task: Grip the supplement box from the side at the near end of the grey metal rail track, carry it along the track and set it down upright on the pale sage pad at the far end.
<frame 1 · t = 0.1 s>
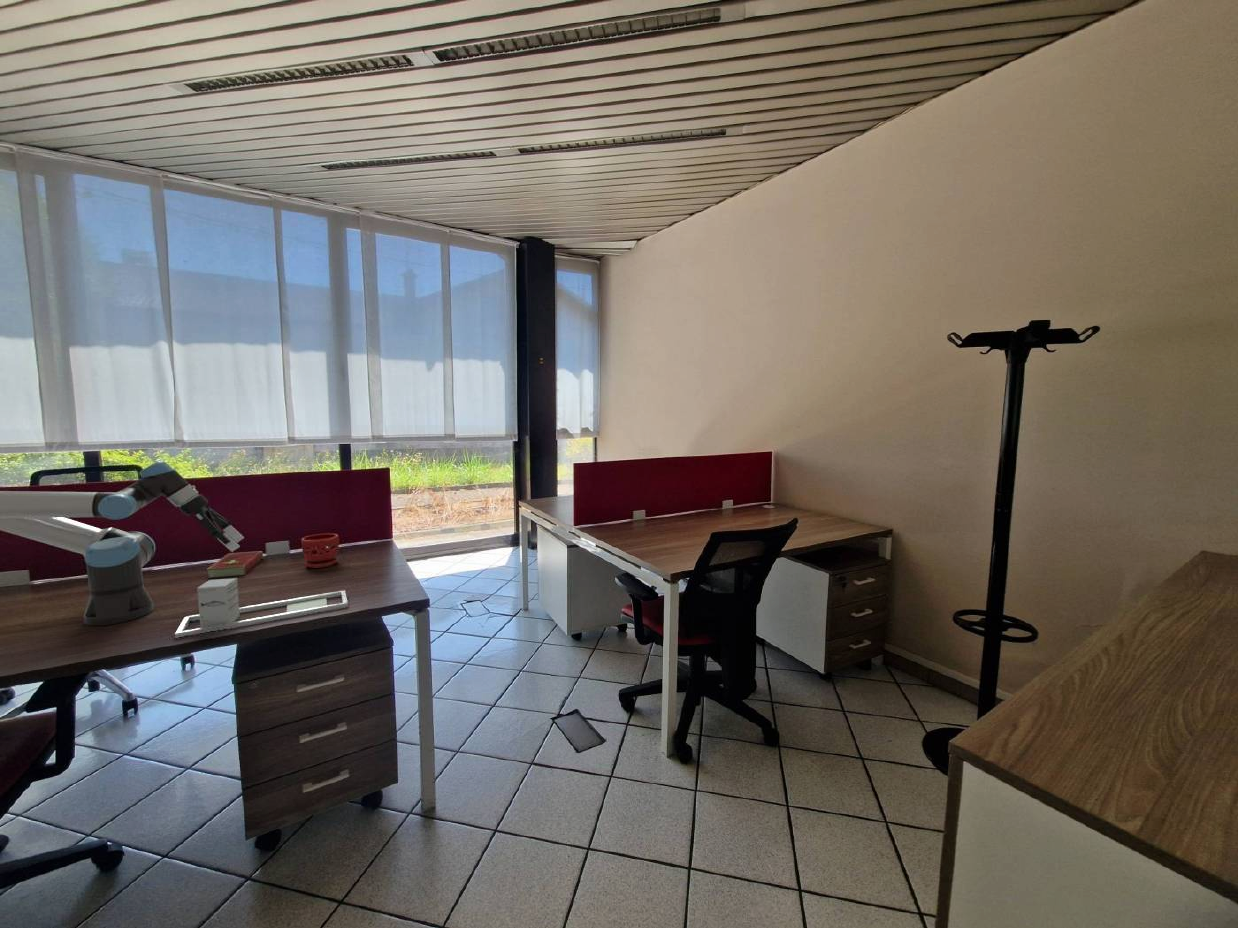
hand: (238, 544, 176), 15 cm above the table, tool tilted 35°, fingers open, 13 cm apart
hardcover book: (237, 569, 197), on the table
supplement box: (220, 623, 148), resting in rail track
plant pot: (321, 564, 202), on the table
rail track: (269, 614, 154), on the table
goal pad: (307, 607, 159), resting in rail track
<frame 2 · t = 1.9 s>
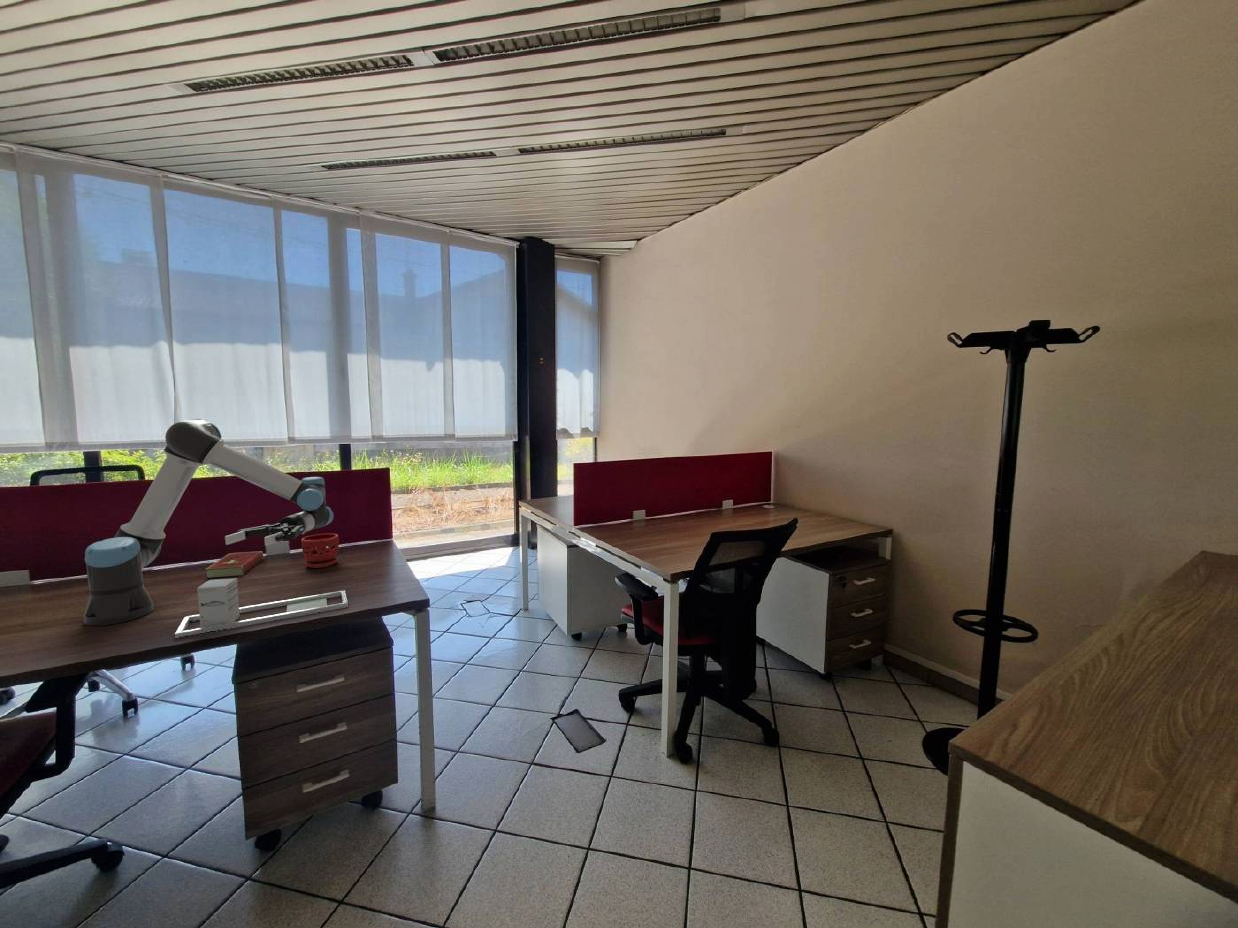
hand: (245, 541, 155), 22 cm above the table, tool horizontal, fingers open, 13 cm apart
nothing on the table moved.
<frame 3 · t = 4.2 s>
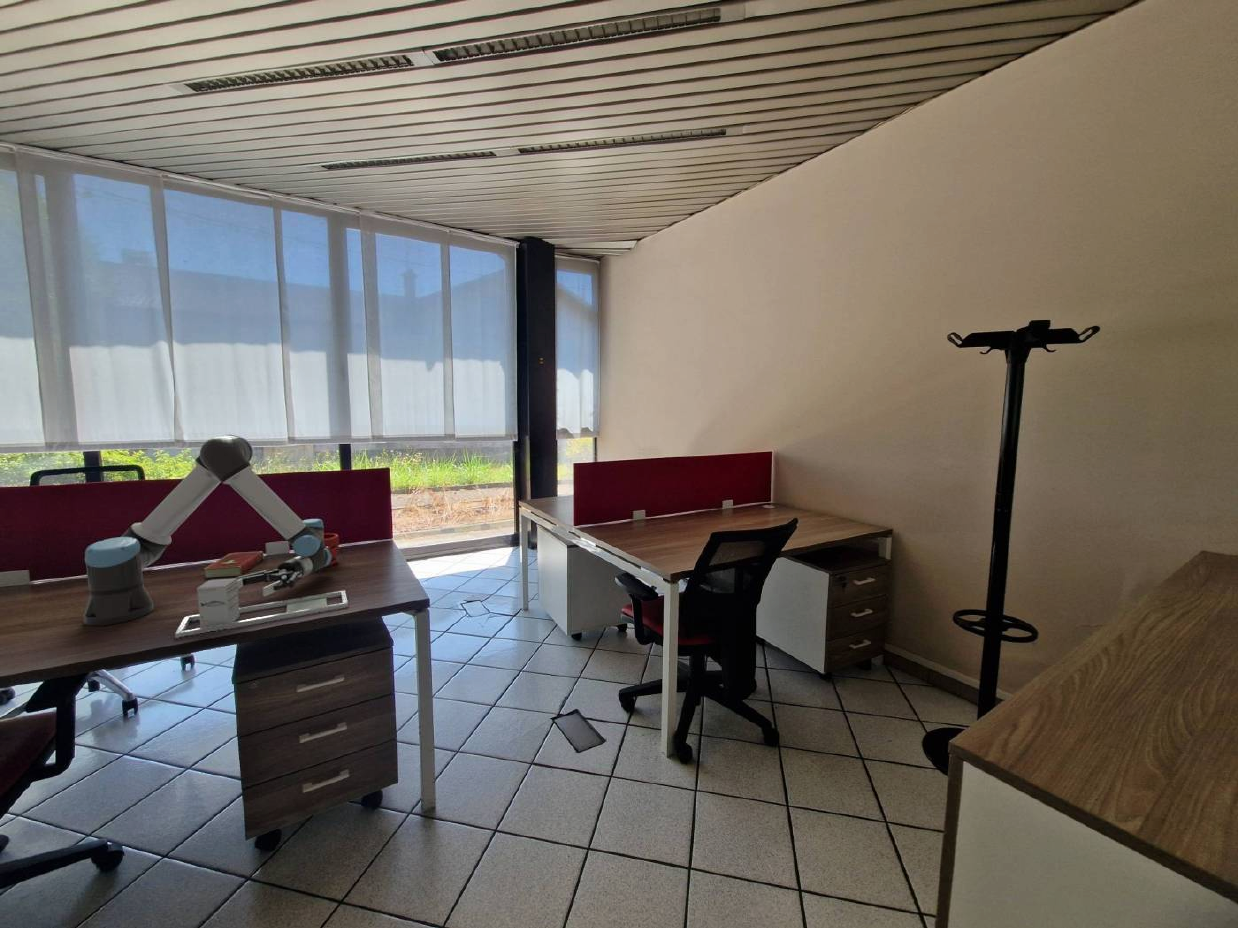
hand: (243, 591, 154), 7 cm above the table, tool horizontal, fingers open, 13 cm apart
nothing on the table moved.
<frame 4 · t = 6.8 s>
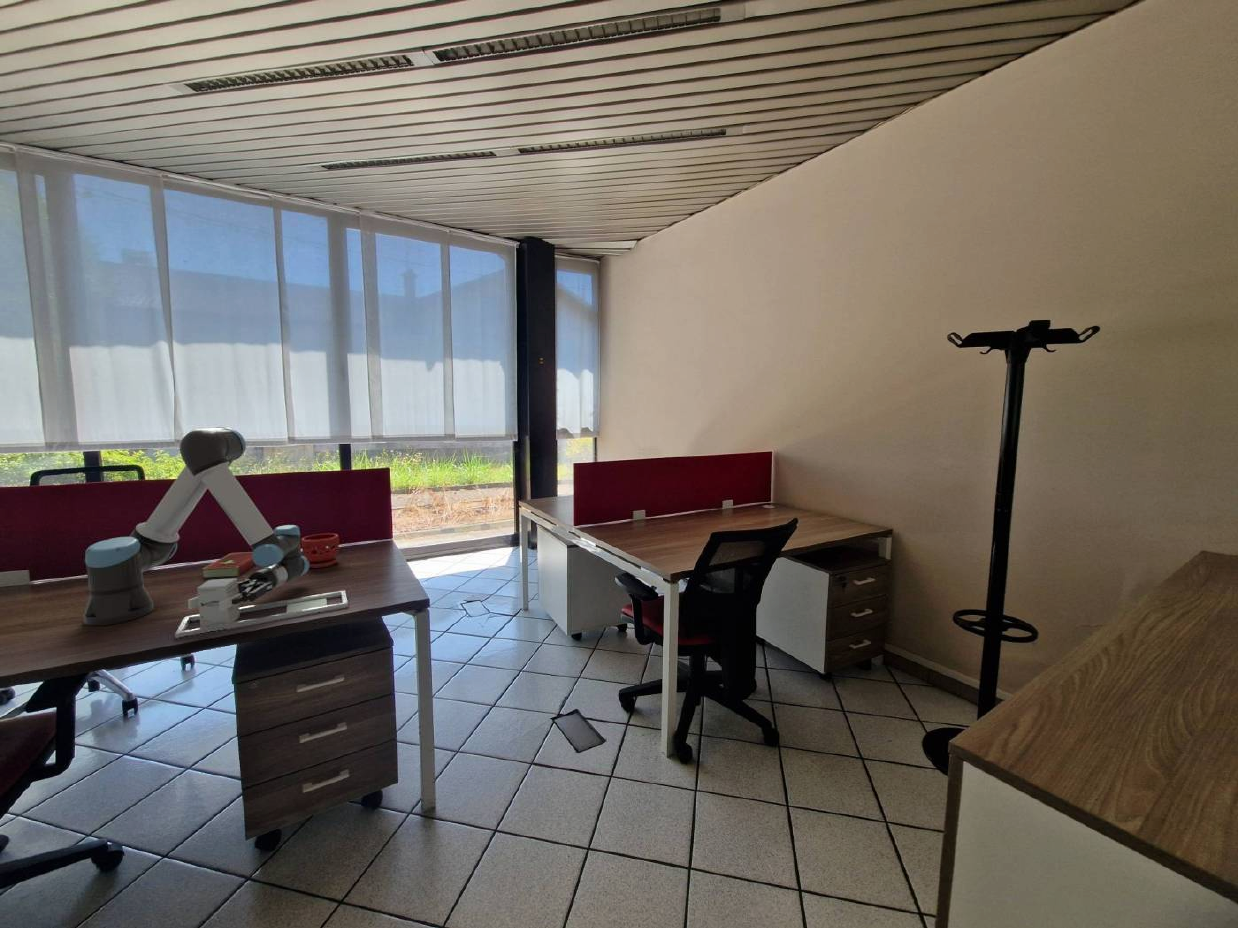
hand: (204, 605, 142), 7 cm above the table, tool horizontal, fingers closed on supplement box, 9 cm apart
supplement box: (221, 623, 148), resting in rail track, touching gripper
everything else where it was.
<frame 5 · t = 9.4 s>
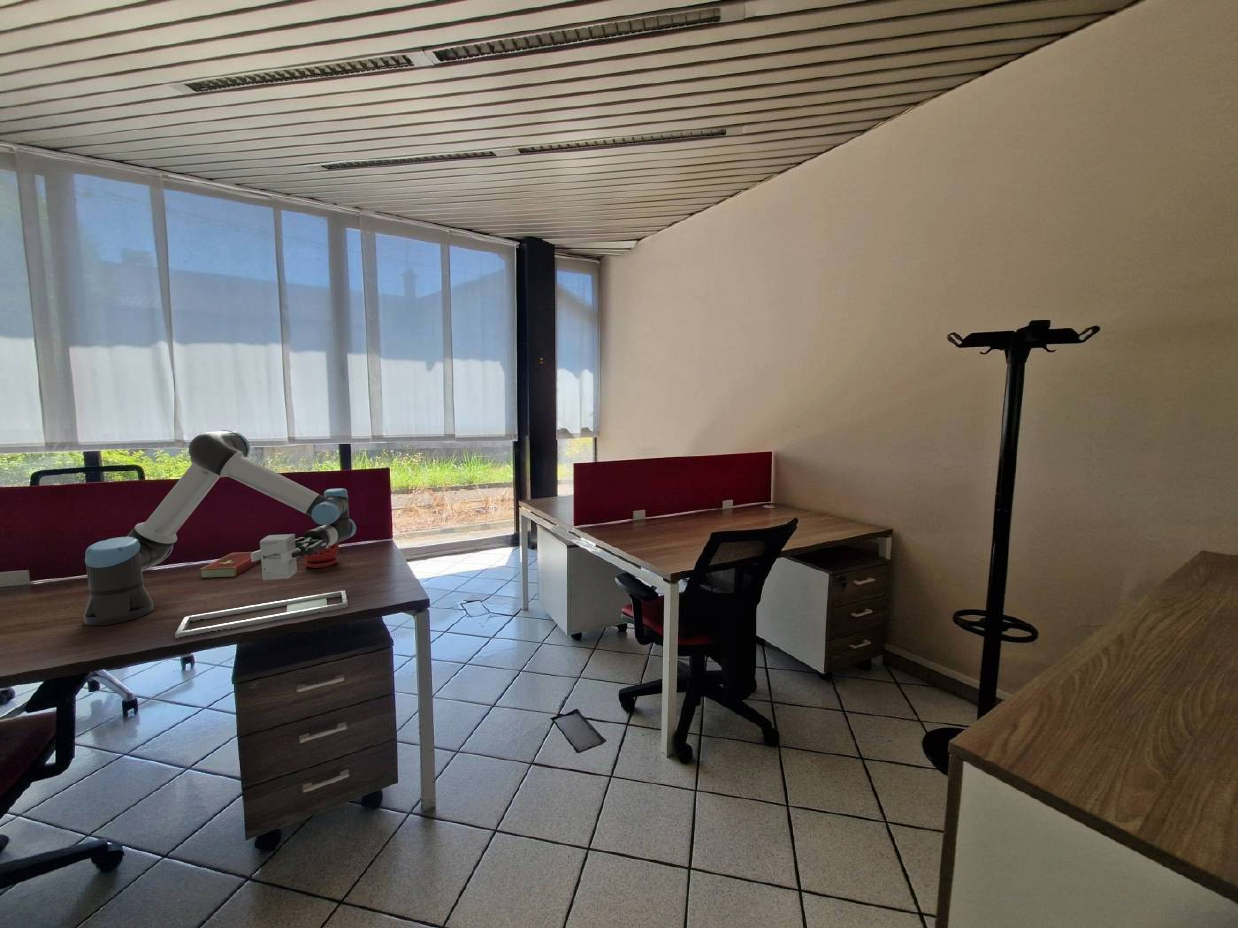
hand: (267, 557, 148), 19 cm above the table, tool horizontal, fingers closed on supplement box, 9 cm apart
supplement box: (280, 576, 154), point 12 cm above the table, touching gripper
when the fingers open (9 cm above the table, at t = 12.1 s): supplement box drops 1 cm, resting on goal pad.
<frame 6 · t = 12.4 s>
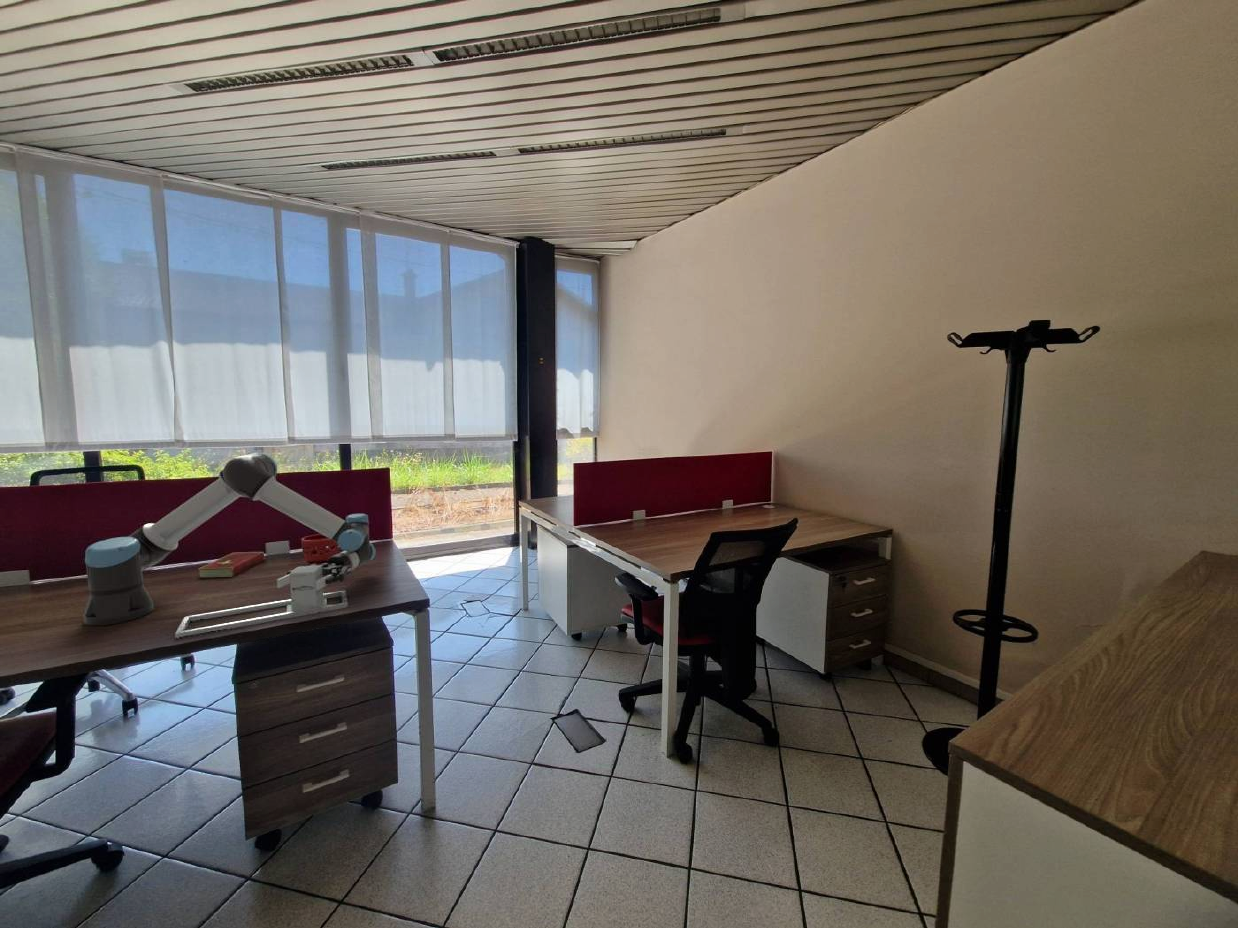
hand: (297, 584, 155), 9 cm above the table, tool horizontal, fingers open, 12 cm apart
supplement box: (308, 606, 159), resting on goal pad
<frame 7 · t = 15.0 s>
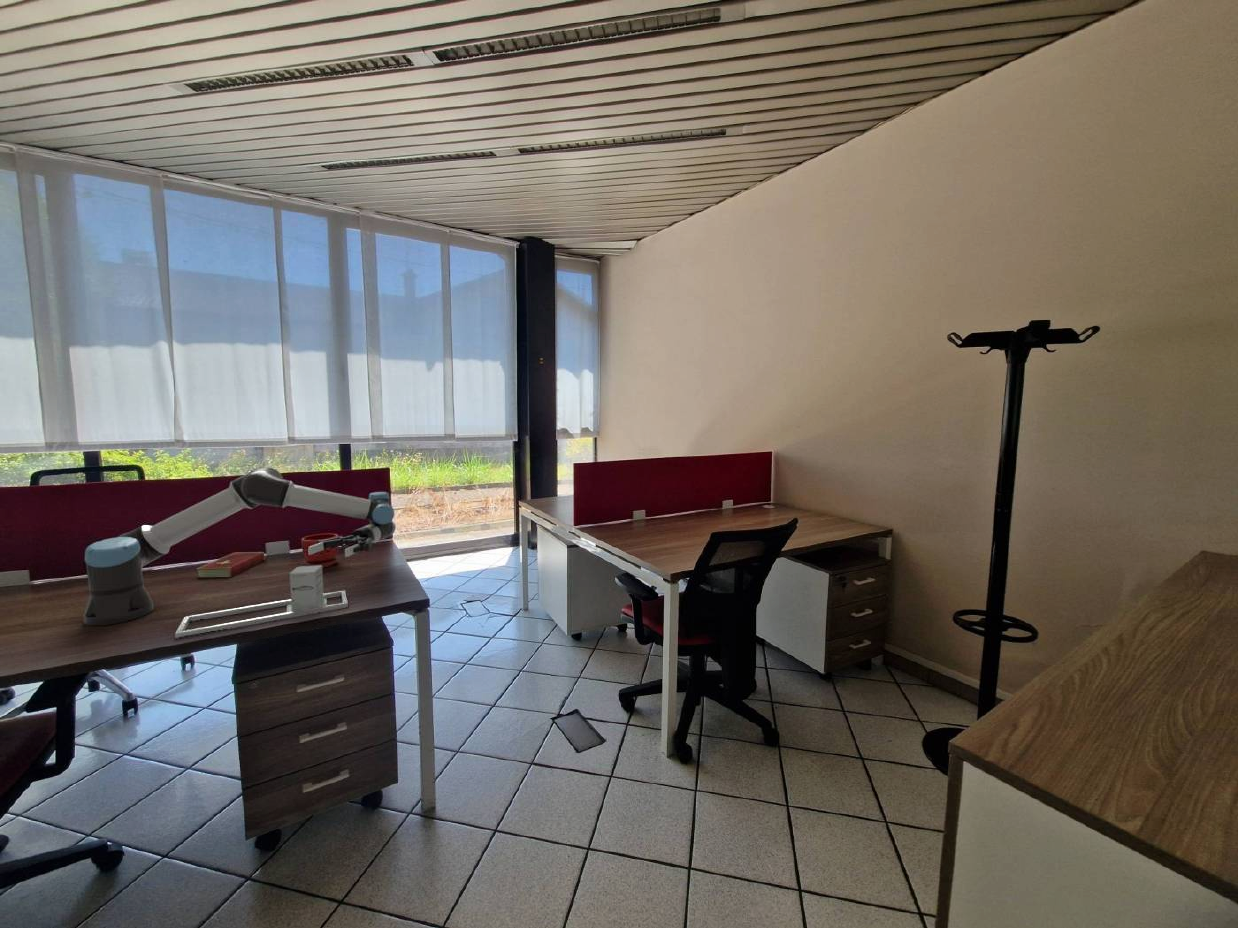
hand: (327, 552, 169), 15 cm above the table, tool horizontal, fingers open, 13 cm apart
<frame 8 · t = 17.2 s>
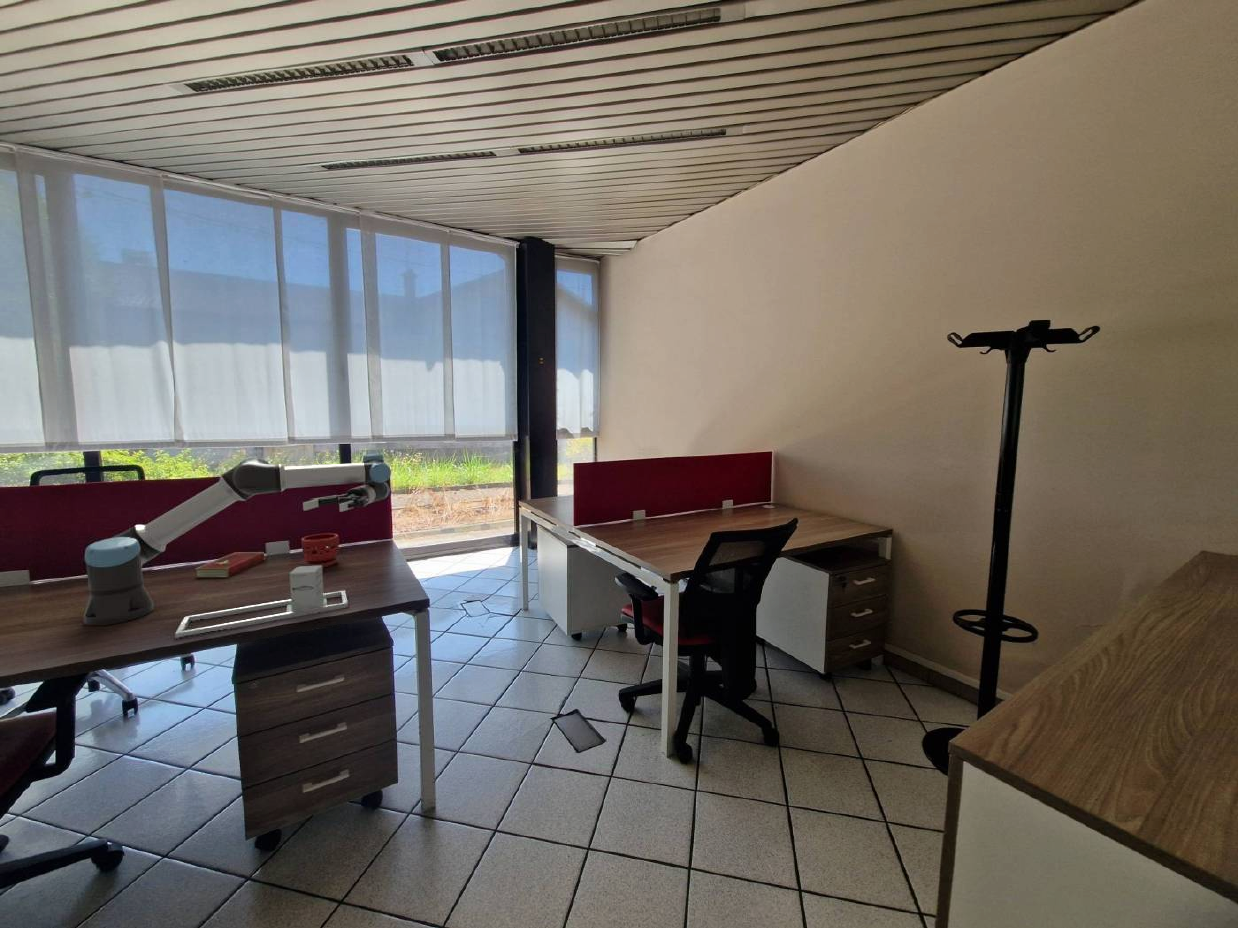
hand: (322, 507, 171), 30 cm above the table, tool horizontal, fingers open, 13 cm apart
at the end: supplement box inside the target area on the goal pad (0.4 cm from its centre), point 0.2 cm above the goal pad's base; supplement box tilted 0°; the gripper is holding nothing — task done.
